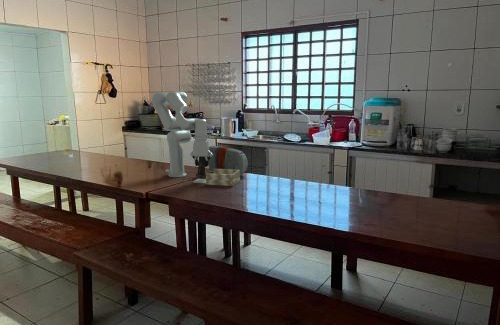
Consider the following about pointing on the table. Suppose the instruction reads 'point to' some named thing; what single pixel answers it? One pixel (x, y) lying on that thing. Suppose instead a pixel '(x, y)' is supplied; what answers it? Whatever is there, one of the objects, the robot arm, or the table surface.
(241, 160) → the decorative stone tablet
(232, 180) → the beige woven basket
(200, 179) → the mat
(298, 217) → the table surface
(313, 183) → the table surface
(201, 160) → the statue
